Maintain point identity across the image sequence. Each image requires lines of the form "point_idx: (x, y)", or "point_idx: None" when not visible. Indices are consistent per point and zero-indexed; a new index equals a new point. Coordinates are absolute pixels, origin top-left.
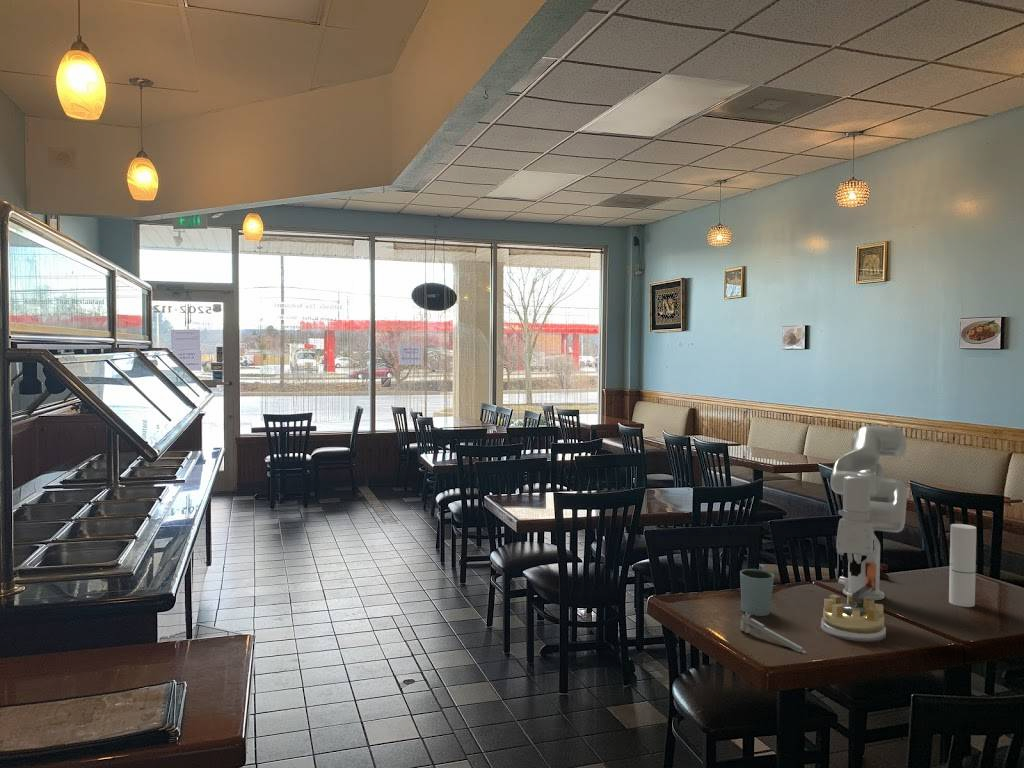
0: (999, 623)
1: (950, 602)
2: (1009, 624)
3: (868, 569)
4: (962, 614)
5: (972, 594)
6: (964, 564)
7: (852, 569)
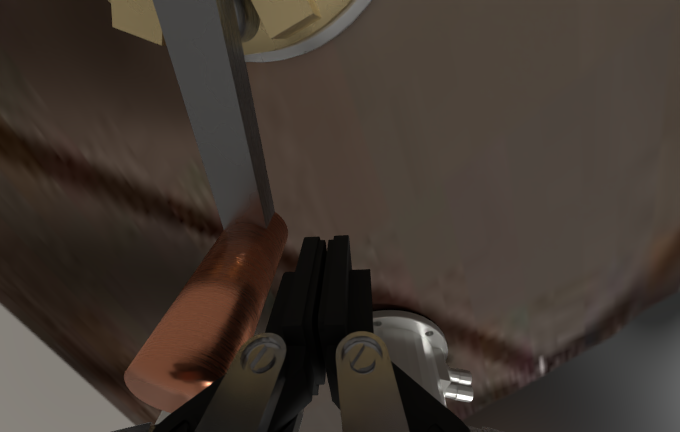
0: (64, 334)
1: None
2: (50, 339)
3: (196, 309)
4: None
5: (155, 423)
6: None
7: (333, 270)
